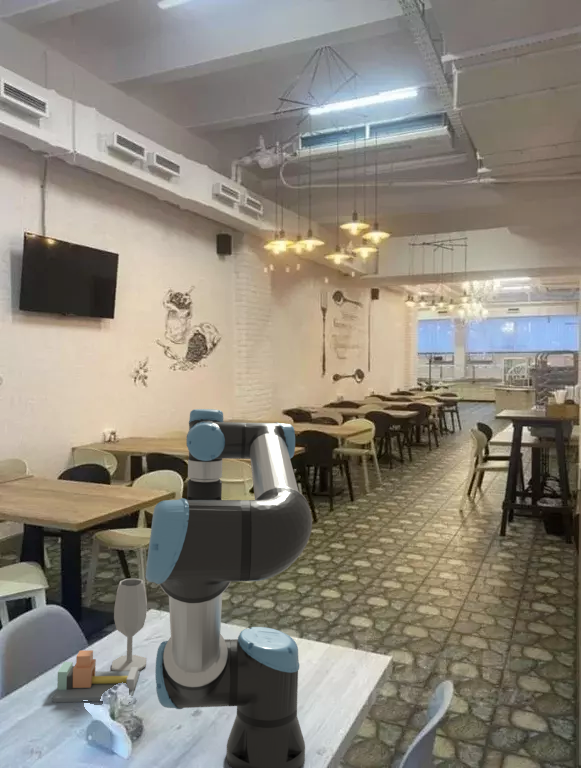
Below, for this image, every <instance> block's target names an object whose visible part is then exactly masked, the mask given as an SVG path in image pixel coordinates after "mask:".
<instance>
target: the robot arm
mask: <svg viewBox="0 0 581 768" xmlns="http://www.w3.org/2000/svg"><path fill="white" fill-rule="evenodd" d="M186 447H187V450H188V460H187V477H188V478H189V479H188V480H187V490H186V491H187V494H186V495H187V497H186V498H183V497H182V498H179V499H169V500H161V501H159V502H158V503H157V504H155V506H154V508H153V512H152V519H151V529H150V535H149V536H150V537H149V541H148V542H149V543H148V551H147V552H148V553H147V559H146V568H145V579H146V581H147V582H149V583H155V584H156V585H159V586H160V588H161V589H162V592H164V593H165V594H166V596H168V606H169V608H168V609H169V625H170V637H169V639H167V640H163V641H162V642H161V643H160V644H159V646H158V648H157V651H156V652H157V653H156V657H155V658H156V659H155V684H156V695H157V699H158V702H159V704H160V705H161V706H162V707H164V708H166V709H176V710H182V709H183V710H184V709H189V708H190V709H191V708H212V707H213V708H215V707H216V708H217V707H218V708H220V707H236V715H235V718H234V722H233V724H232V726H231V730H230V733H229V736H228V739H227V742H226V758H225V759H226V761H227V763H228V766H229V767H230V766H231V767H232V768H301V767H302V766H303V765H304V764H305V763H304V762H305V759H306V758H305V757H306V744H305V743H306V742H305V740H304V735H303V731H302V729H301V728H302V727H301V726H300V725H301V724H300V722H299V719H298V686H299V670H300V663H299V648H298V644H297V643H296V641H295V640H294V639H293V637H292V636H290V635H288V634H287V633H286V632H283V631H282V630H280V629H279V630H278V629H275V628H271V627H265V626H252V627H249V628H244V629H243V630H241V631H240V633H239V634H238V637H237V638H236V639H228V638H227V639H225V638H224V637H223V635H222V634H221V627H222V606H223V605H222V603H223V594H224V592H225V591H226V590H227V589H228V587H229V586H230V584H231V582H232V583H234V582H259V581H265V580H268V579H271V578H273V577H275V576H278V575H279V574H281V573H283V572H284V571H286V570H287V569H289V567H291V565H292V564H294V563H295V562H296V561H297V559H299V557H300V556H301V555H302V553H303V551H305V548H306V546H307V545H308V542H309V540H310V537H311V533H312V528H313V517H312V516H313V515H312V512H311V508H310V505H309V502H308V500H307V499H306V497H305V496H304V495H303V494H302V493H301V492H300V491H299V488H298V484H297V480H296V476H295V474H294V473H295V472H294V469H293V465H292V461H291V459H292V458H293V457H294V455H295V452H296V451H295V450H296V433H295V428H294V426H293V425H292V424H291V423H280V422H278V421H277V422H236V421H235V422H233V421H231V422H229V421H224V413H223V411H222V410H220V409H213V408H212V409H211V408H210V409H209V408H199V409H198V408H197V409H192V410H191V411H190V412H189V421H188V432H187V434H186ZM223 459H225V460H228V459H229V460H230V459H231V460H250V467H251V478H252V484H253V492H254V499H247V500H246V499H243V500H242V499H223V498H222V490H223V489H222V488H223V485H222V483H223V482H222V480H221V478H222V477H223ZM231 767H230V768H231Z"/></svg>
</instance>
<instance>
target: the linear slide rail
mask: <svg viewBox="0 0 581 768" xmlns="http://www.w3.org/2000/svg"><path fill="white" fill-rule="evenodd" d="M73 664H74V663H73V661H63V663H62V664H61V666H60V668H59V670H58V671H57V688H56V689H57V690H56V691H55V693H54V695H53V697H52V703H82V702H81V701H83V700H88V701H92V702H93V703H95V702H98V701H100V699H101V696H102V694H103V693H104V692H105V691H107V690H108V689H110V688H112V687H113V686H114V685H116V684H118V683H122V682H123V683H126V684H127V686H128V688H129V695H131V696H133V697H134V693H135V691H136V688H137V685H138V681H139V678H140V674H141V673H140V672H141V670H140V671H138V667H131V669H130V671H113V670H109V671H104V670H103V671H95V676H92V686H91V688H73V668H74V666H75V665H73Z"/></svg>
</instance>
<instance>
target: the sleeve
mask: <svg viewBox="0 0 581 768" xmlns="http://www.w3.org/2000/svg"><path fill="white" fill-rule="evenodd" d="M75 657H76V660H75V661H76V663H75V664H74V665H73V666H74V668H73V688H91V686H92V676H95V672H96V665H97V664H96V663H97V661H96V660H97V659H96V658H94V650H91V649H90V650H88V649H87V650H79V651H78V653H77V655H76V656H75Z"/></svg>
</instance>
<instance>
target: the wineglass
mask: <svg viewBox="0 0 581 768" xmlns="http://www.w3.org/2000/svg"><path fill="white" fill-rule="evenodd" d="M117 586H118V587H117V589H116V590H117V591H116V595H115V596H116V597H115V601H114V602H115V603H114V610H113V613H114V614H113V620H114V623H115V628H116V630H117V631H118V632H119V633H121V634H122V635H124V636H125V637H127V638H126V655H121V656H119V657H118V658H115V659H114V660H112V664H111V671H130V669H131V667H138V671H140V672H141V670H143V669H144V668H146V667H147V657H145V656H141V655H136V654H133V637H134V636H135V635H137V633H139V632H140V631H141V630H142V629H143V628H144V626H145V623H146V619H147V603H148V602H147V601H148V599H147V593H146V587H145V583H144V580H143V579H140V578H135V577H134V578H125V579H122V580H120V581H119V583H118V585H117Z"/></svg>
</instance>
